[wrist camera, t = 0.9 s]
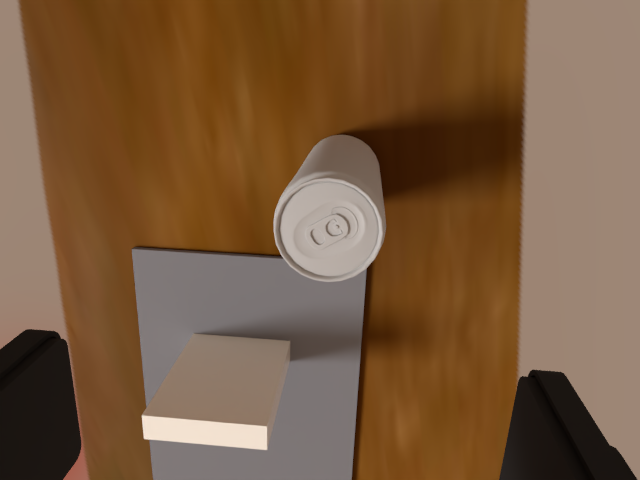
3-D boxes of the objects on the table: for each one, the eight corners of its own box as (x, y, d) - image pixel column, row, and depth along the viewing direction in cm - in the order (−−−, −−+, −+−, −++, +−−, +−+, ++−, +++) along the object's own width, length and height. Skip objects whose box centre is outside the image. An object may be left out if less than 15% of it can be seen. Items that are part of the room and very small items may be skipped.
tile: (193, 333, 37) (141, 415, 28) (290, 340, 36) (267, 426, 28) (194, 354, 37) (144, 441, 29) (289, 362, 37) (267, 452, 28)
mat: (134, 246, 35) (131, 249, 35) (367, 262, 34) (367, 264, 34) (155, 475, 42) (153, 479, 42) (350, 494, 41) (350, 498, 41)
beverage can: (393, 186, 32) (407, 254, 21) (327, 221, 34) (307, 303, 22) (356, 118, 31) (351, 152, 20) (289, 157, 32) (248, 209, 21)
